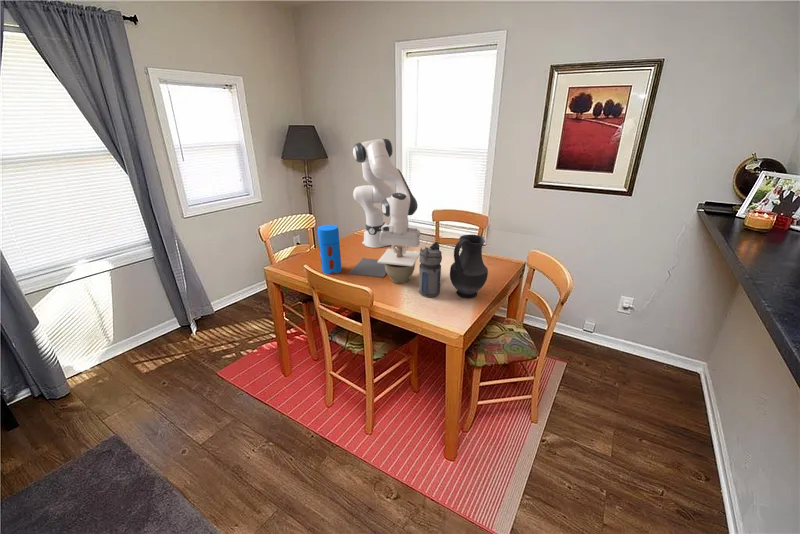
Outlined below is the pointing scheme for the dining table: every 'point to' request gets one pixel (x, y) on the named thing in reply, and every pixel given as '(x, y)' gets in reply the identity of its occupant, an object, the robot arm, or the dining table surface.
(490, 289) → the dining table surface
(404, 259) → the lid
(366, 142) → the robot arm
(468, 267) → the pitcher
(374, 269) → the mat
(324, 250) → the blue slotted cylinder
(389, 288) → the dining table surface
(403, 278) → the planter bowl
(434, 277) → the beverage bottle
